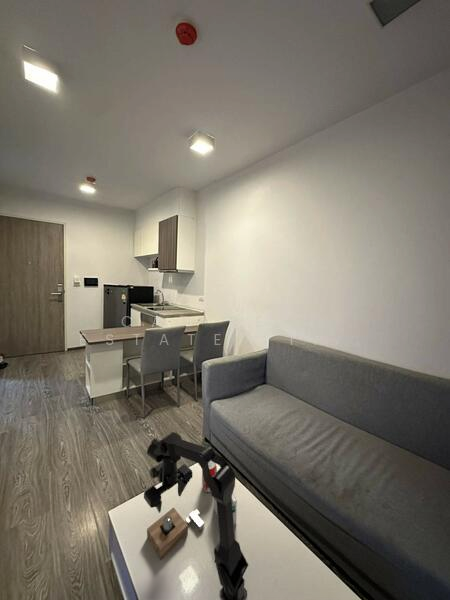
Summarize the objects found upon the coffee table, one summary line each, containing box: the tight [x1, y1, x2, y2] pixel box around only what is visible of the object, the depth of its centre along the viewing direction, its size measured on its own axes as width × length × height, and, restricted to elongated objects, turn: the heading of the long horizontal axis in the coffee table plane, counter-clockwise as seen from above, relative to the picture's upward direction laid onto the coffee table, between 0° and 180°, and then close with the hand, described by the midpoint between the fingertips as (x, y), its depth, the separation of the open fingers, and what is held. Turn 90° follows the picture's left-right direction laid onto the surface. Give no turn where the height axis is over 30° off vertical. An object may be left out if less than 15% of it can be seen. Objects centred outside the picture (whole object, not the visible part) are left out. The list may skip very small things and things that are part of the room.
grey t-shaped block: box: [184, 509, 205, 533], centre depth 96 cm, size 7×6×2 cm
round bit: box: [163, 516, 172, 536], centre depth 91 cm, size 3×3×7 cm
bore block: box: [146, 507, 189, 561], centre depth 91 cm, size 10×12×4 cm
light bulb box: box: [213, 493, 238, 526], centre depth 99 cm, size 11×7×11 cm, turn 22°
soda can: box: [201, 461, 218, 493], centre depth 112 cm, size 7×7×12 cm
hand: (169, 503), depth 91 cm, fingers open, 9 cm apart
